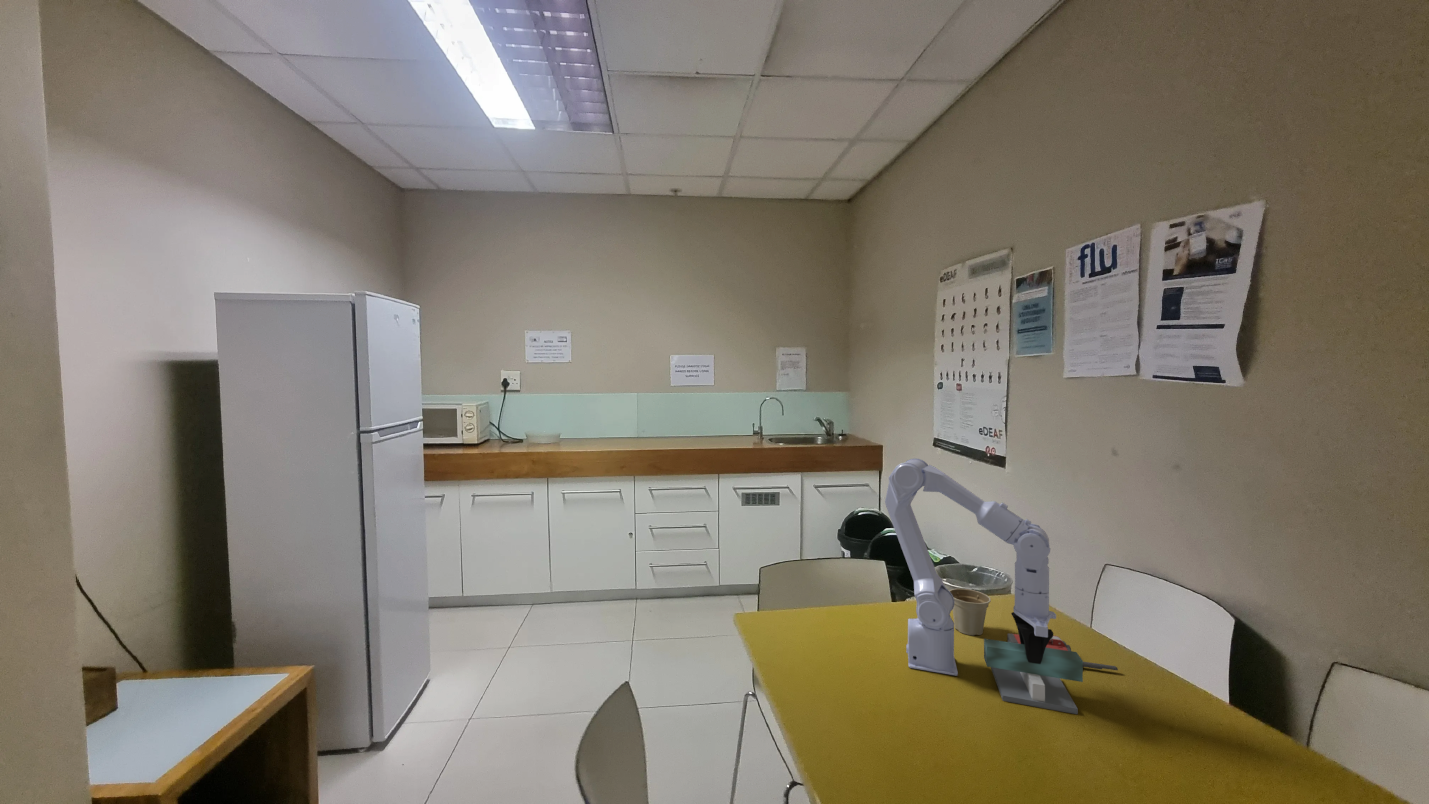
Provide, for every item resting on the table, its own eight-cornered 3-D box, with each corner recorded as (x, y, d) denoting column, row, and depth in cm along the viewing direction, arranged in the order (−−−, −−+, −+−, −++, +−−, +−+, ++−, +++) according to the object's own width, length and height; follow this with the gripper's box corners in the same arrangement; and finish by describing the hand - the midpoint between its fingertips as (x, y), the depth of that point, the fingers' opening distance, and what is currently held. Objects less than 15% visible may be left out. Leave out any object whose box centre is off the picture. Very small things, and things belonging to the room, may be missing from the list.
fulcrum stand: (1002, 700, 95) (1002, 679, 95) (991, 668, 106) (991, 649, 106) (1077, 714, 90) (1077, 692, 90) (1057, 679, 102) (1057, 659, 102)
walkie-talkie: (1009, 661, 109) (1119, 678, 103) (1009, 641, 109) (1120, 657, 103) (1000, 643, 118) (1102, 657, 111) (1001, 624, 118) (1102, 637, 111)
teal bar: (986, 666, 99) (987, 646, 99) (983, 657, 103) (984, 638, 103) (1082, 682, 94) (1082, 660, 94) (1076, 672, 97) (1076, 652, 97)
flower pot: (984, 623, 127) (984, 590, 127) (996, 641, 118) (996, 604, 118) (944, 620, 129) (944, 586, 129) (952, 637, 120) (953, 601, 120)
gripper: (1067, 605, 90) (1067, 680, 90) (1044, 578, 104) (1044, 643, 104) (1022, 600, 92) (1022, 673, 92) (1006, 574, 106) (1006, 638, 106)
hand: (1031, 657), depth 98 cm, fingers closed on teal bar, 3 cm apart
